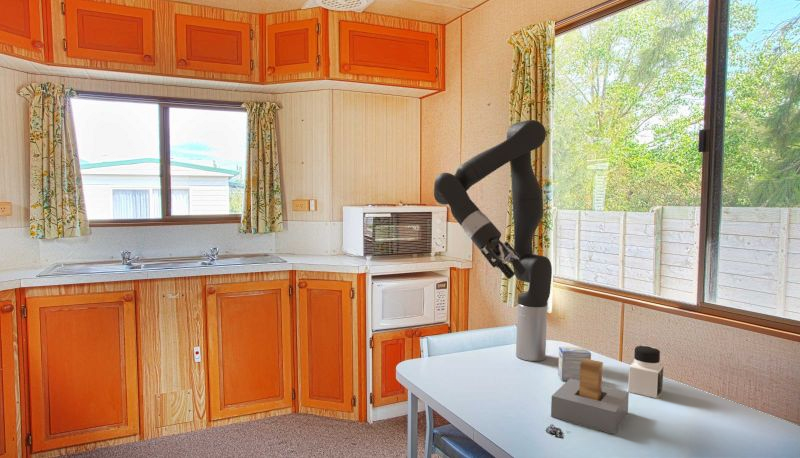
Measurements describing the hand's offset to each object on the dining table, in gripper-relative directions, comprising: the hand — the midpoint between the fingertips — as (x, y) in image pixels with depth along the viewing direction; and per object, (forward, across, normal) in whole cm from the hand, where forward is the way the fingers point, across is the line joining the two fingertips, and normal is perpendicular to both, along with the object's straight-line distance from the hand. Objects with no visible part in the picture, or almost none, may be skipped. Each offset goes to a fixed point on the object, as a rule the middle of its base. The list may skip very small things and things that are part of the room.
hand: (518, 274), depth 132 cm
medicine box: (+30, +15, +14) cm, 36 cm away
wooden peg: (+36, -6, +6) cm, 37 cm away
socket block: (+37, -6, +6) cm, 38 cm away
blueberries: (+35, -20, +9) cm, 41 cm away
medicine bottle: (+43, +18, +1) cm, 46 cm away
